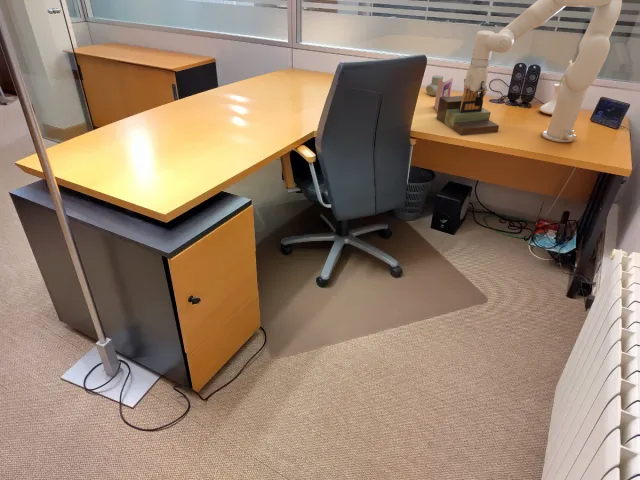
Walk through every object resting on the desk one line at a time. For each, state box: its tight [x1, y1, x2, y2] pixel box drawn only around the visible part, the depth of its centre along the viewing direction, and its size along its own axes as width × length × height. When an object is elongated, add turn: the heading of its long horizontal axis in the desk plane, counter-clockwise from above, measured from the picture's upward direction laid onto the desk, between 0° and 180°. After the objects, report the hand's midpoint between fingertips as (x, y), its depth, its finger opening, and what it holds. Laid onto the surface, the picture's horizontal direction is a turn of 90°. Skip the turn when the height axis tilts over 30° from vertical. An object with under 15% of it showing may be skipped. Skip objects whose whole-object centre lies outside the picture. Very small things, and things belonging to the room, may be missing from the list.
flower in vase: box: [539, 59, 573, 116], centre depth 209 cm, size 13×11×25 cm
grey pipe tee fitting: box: [425, 74, 444, 97], centre depth 239 cm, size 11×8×10 cm
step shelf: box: [436, 95, 500, 136], centre depth 198 cm, size 24×18×10 cm
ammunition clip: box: [459, 85, 484, 113], centre depth 193 cm, size 11×2×12 cm, turn 104°
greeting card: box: [433, 77, 454, 112], centre depth 215 cm, size 11×7×15 cm, turn 143°
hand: (471, 102), depth 194 cm, fingers open, 9 cm apart
